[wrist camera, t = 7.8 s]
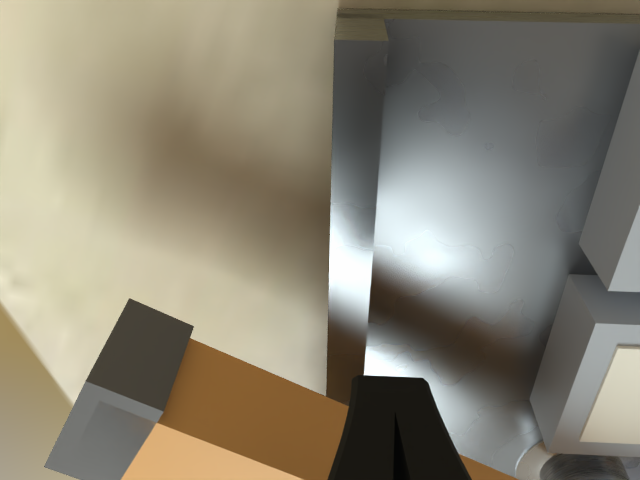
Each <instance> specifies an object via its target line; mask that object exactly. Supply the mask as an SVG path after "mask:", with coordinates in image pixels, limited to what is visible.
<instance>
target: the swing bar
mask: <svg viewBox="0 0 640 480" xmlns="http://www.w3.org/2000/svg"><path fill="white" fill-rule="evenodd" d="M193 328H194V326H192V325H190V324H187V323H185V322H183V321H180V320H178V319H176V318H173V317H171V316H169V315H167V314H164V313H162V312H160V311H157V310H155V309H153V308H151V307H148V306H146V305H144V304H141V303H139V302H137V301H134V300H132V299H130V298H129V300H128V302H127V304H126V306H125V308H124V310H123V312H122V313H121V315H120V317H119V319H118V321H117V323H116V325H115V327H114V329H113V330H112V332H111V334H110V336H109V338H108V340H107V342H106V344H105V346H104V348H103V349H102V351H101V353H100V355H99V357H98V359H97V361H96V363H95V365H94V366H93V368H92V370H91V372H90V374H89V376H88V378H87V380H86V382H85V384H84V386H83V388H82V390H81V392H80V394H79V396H78V398H77V400H76V402H75V404H74V406H73V408H72V410H71V412H70V414H69V417H68V419H67V421H66V423H65V425H64V427H63V429H62V431H61V433H60V435H59V437H58V439H57V441H56V443H55V445H54V447H53V449H52V452H51V453H50V455H49V458H48V460H47V462H46V464H45V466H44V467H45V468H48V469H51V470H54V471H57V472H60V473H63V474H66V475H69V476H71V477H74V478H77V479H80V480H327V479H328V476H329V474H330V470H331V467H332V464H333V461H334V458H335V455H336V452H337V449H338V446H339V443H340V440H341V436H342V432H343V429H344V425H345V421H346V417H347V412H348V408H349V406H347V405H344V404H342V403H340V402H337V401H335V400H333V399H330V398H328V397H326V396H323V395H321V394H319V393H316V392H314V391H312V390H309V389H307V388H305V387H302V386H300V385H298V384H295V383H293V382H291V381H289V380H286V379H284V378H282V377H279V376H277V375H275V374H272V373H270V372H268V371H265V370H263V369H261V368H258V367H256V366H254V365H251V364H249V363H247V362H244V361H242V360H240V359H237V358H235V357H233V356H230V355H228V354H226V353H223V352H221V351H219V350H216V349H214V348H212V347H209V346H207V345H205V344H202V343H200V342H198V341H195V340H193V339H191V338H190V336H191V333H192V330H193ZM459 456H460V458H461V460H462V462H463V463H464V465H465V467H466V469H467V471H468V473H469V475H470V477H471V479H472V480H519V479H516V478H514V477H512V476H509V475H507V474H505V473H503V472H500V471H498V470H496V469H493V468H491V467H489V466H486V465H484V464H482V463H479V462H477V461H475V460H472V459H470V458H468V457H465V456H463V455H461V454H459Z"/></svg>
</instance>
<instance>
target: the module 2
mask: <svg viewBox="0 0 640 480" xmlns="http://www.w3.org/2000/svg"><path fill="white" fill-rule="evenodd" d="M530 402H531V405H532V408H533V411H534V414H535V417H536V420H537V422H538V425H539V428H540V431H541V434H542V437H543V440H544V443H545V446H546V449H547V452H548V453H561V454H582V455H604V456H625V457H640V292H623V291H608V290H607V289H606V287H605V286H604V284H603V282H602V281H601V279H600V277H599V276H598V275H577V274H569V276H568V279H567V282H566V285H565V288H564V291H563V295H562V298H561V301H560V304H559V307H558V310H557V314H556V317H555V320H554V323H553V326H552V329H551V333H550V336H549V339H548V342H547V345H546V349H545V352H544V355H543V358H542V361H541V364H540V368H539V371H538V374H537V377H536V380H535V383H534V387H533V390H532V393H531V396H530Z"/></svg>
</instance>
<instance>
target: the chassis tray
mask: <svg viewBox="0 0 640 480" xmlns="http://www.w3.org/2000/svg"><path fill="white" fill-rule="evenodd" d="M639 50H640V14H590V13H538V12H486V11H434V10H382V9H338V10H337V20H336V29H335V38H334V77H333V122H332V166H331V211H330V256H329V300H328V345H327V390H326V397H328V398H330V399H333V400H335V401H337V402H340V403H342V404H344V405H347V406H349V402H350V395H351V383H352V379H353V378H354V377H356V376H357V375H371V376H394V377H417V378H424V379H425V380H426V381H427V382H428V383H429V386H430V389H431V392H432V395H433V397H434V400H435V403H436V405H437V408H438V410H439V412H440V415H441V417H442V419H443V422H444V424H445V426H446V428H447V431H448V433H449V435H450V437H451V439H452V441H453V443H454V446H455V448H456V450H457V452H458V454H461V455H463V456H465V457H468V458H470V459H472V460H475V461H477V462H479V463H482V464H484V465H486V466H489V467H491V468H493V469H496V470H498V471H500V472H503V473H505V474H507V475H509V476H512V477H514V478H516V479H519V480H640V457H625V456H604V455H582V454H561V453H548V452H547V449H546V446H545V443H544V440H543V437H542V434H541V431H540V428H539V425H538V422H537V420H536V417H535V414H534V411H533V408H532V405H531V402H530V396H531V393H532V390H533V387H534V383H535V380H536V377H537V374H538V371H539V368H540V364H541V361H542V358H543V355H544V352H545V349H546V345H547V342H548V339H549V336H550V333H551V329H552V326H553V323H554V320H555V317H556V314H557V310H558V307H559V304H560V301H561V298H562V295H563V291H564V288H565V285H566V282H567V279H568V276H569V274H577V275H598V274H597V273H596V271H595V269H594V268H593V266H592V265H591V263H590V261H589V260H588V258H587V256H586V255H585V253H584V252H583V250H582V248H581V247H580V245H579V241H580V238H581V234H582V231H583V228H584V225H585V222H586V218H587V215H588V212H589V209H590V206H591V203H592V199H593V196H594V193H595V190H596V187H597V184H598V180H599V177H600V174H601V171H602V168H603V165H604V161H605V158H606V155H607V152H608V149H609V146H610V142H611V139H612V136H613V133H614V130H615V127H616V123H617V120H618V117H619V114H620V111H621V108H622V104H623V101H624V98H625V95H626V92H627V88H628V85H629V82H630V79H631V76H632V73H633V69H634V66H635V63H636V60H637V57H638V54H639Z"/></svg>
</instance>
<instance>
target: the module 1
mask: <svg viewBox="0 0 640 480" xmlns="http://www.w3.org/2000/svg"><path fill="white" fill-rule="evenodd" d="M579 245H580V247H581V248H582V250H583V252H584V253H585V255H586V256H587V258H588V260H589V261H590V263H591V265H592V266H593V268H594V269H595V271H596V273H597V274H598V276H599V277H600V279H601V281H602V282H603V284H604V286H605V287H606V289H607V290H608V291H623V292H640V50H639V54H638V57H637V60H636V63H635V66H634V69H633V73H632V76H631V79H630V82H629V85H628V88H627V92H626V95H625V98H624V101H623V104H622V108H621V111H620V114H619V117H618V120H617V123H616V127H615V130H614V133H613V136H612V139H611V142H610V146H609V149H608V152H607V155H606V158H605V161H604V165H603V168H602V171H601V174H600V177H599V180H598V184H597V187H596V190H595V193H594V196H593V199H592V203H591V206H590V209H589V212H588V215H587V218H586V222H585V225H584V228H583V231H582V234H581V238H580V241H579Z"/></svg>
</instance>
